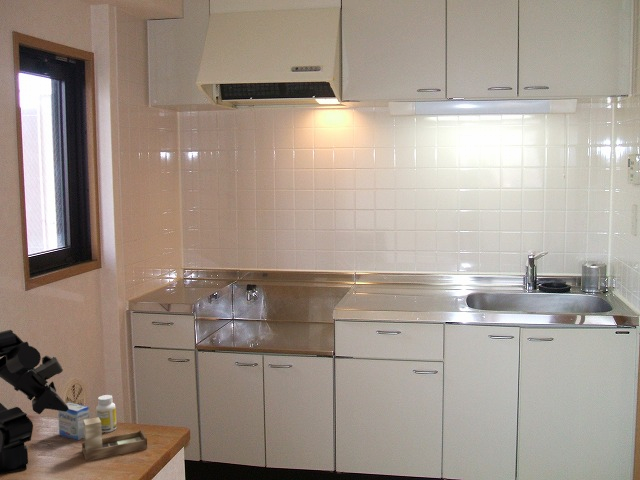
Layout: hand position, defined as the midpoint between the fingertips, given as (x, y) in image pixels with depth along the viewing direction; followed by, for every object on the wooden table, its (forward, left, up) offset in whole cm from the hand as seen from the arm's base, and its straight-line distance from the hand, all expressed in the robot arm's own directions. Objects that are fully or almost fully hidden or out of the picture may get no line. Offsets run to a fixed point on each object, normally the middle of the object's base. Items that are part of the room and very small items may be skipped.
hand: (67, 409), depth 179 cm
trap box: (+12, 0, -14) cm, 18 cm away
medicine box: (+3, +16, -14) cm, 21 cm away
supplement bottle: (+12, +16, -14) cm, 24 cm away
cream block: (+6, 0, -12) cm, 14 cm away
